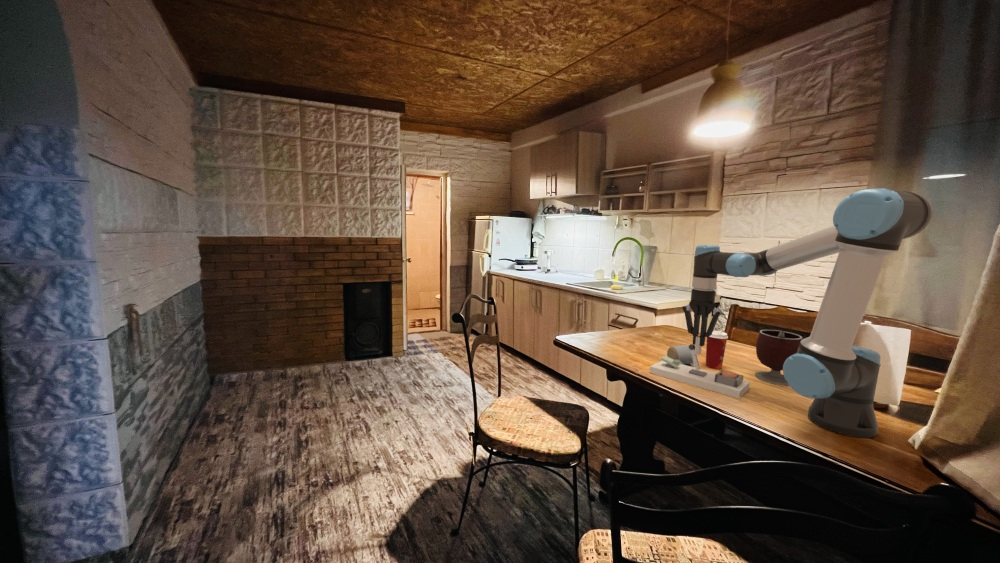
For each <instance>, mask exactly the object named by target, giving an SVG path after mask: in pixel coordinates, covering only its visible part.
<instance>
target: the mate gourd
mask: <svg viewBox="0 0 1000 563" xmlns="http://www.w3.org/2000/svg"><path fill="white" fill-rule="evenodd" d="M802 339H803V336H801V335H800V334H797V333H793V332H789V331H783V330H777V329H760V330H759V333H758V336H757V338H756V344H755V351H756V357H757V359H758V361H759V362H760V363H761V364H762V365H763V366H765V367H767V368H769V369H770V371H756V372H755V373H754V374H755V375H754V376H755V377H756V379H758V380H760V381H762V382H765V383H769V384H771V385H772V384H773V385H777V386H786V387H788V386H789V385H788V382H787V380H785V378H784V375H783V373H781V371H782V372H783V365H784V362H785V360H786V359H787V358H788V357H790V356H791V355H794V354H797V351H798V348H799V345H800V342H801V340H802ZM789 387H790V386H789Z"/></svg>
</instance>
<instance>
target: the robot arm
mask: <svg viewBox="0 0 1000 563" xmlns="http://www.w3.org/2000/svg"><path fill="white" fill-rule="evenodd" d="M932 217H933V208H932V206H931V204H930V202H929V201H928V200H927V199H926V198H925V197H924V196H922V195H920V194H918V193H916V192H912V191H911V192H910V191H906V190H904V191H903V190H902V191H901V190H895V189H888V188H884V187H882V188H866V189H860V190H858V191H854V192H852V193H851V194H849V195H847V196H846V197H845V198H844V199H842V200H841V201H840V202H839V203H838V205H837V206H836V208H835V210H834V212H833V215H832V223H833V226H829V227H827V228H824V229H821V230H818V231H816V232H813V233H809V234H807V235H804V236H802V237H798V238H796V239H793V240H790V241H787V242H784V243H782V244H778V245H776V246H773V247H770V248H767V249H765V250H762V251H759V252H727V251H725V252H724V251H721V249H720V248H721V247H720V246H719V245H713V244H712V245H711V244H698V245H697V246H696V247H695V252H694V256H693V259H694V260H693V271H692V272H693V273H692V284H691V288H692V289H691V291H690V292H691V294H690V301H689V302H688V304H687V305H683V306H682V307H681V308H682V311H683V312H684V316H685V323H686V328H687V333H688V334H691V335H692V344H693V345H695V355H697V356H699V355H701V354H702V347H704V346H705V344H706V343H705V342H706V338H707V337H709V336H711V335H712V332H713V331H715V330H714V329H715V327H716V325H717V322H718V319H719V317H720V316H722V314H723V311H722V310H720V309H718V308H717V306H716V302H715V300H716V289H717V282H718V281H717V279H718V275H724V276H728V277H729V276H731V277H734V278H748V277H750V276H760V277H761V276H764V277H765V276H770V275H773V274H774V275H775V273H777V272H778V271H780V270H783V269H786V268H790V267H794V266H798V265H801V264H804V263H807V262H812V261H815V260H819V259H821V258H824V257H825V258H826V257H828V256H832V255H835V254H838V255H837V258H836V261H835V263H834V266H833V269H832V272H831V273H830V274H831V276H830V277H829V280H828V283H827V286H826V289H825V292H824V295H823V298H822V300H821V304H820V306H819V309H818V312H817V316H816V318H815V321H814V324H813V326H812V330H811V332H810V335H809V336H808V337H805V338H802V340H801V342H800V345H799V348H798V351H797V354H794V355H791V356H790V357H788V358H787V359H786V360H785V362H784V365H783V370H782V375H784V378H785V380H787V382H788V385H789V387H790V388H791V390H793V391H794V392H795V393H797V394H799V395H800V396H802V397H805V398H807V399H813V401H812V402H811V404H810V406H809V407H808V410H807V411H808V412H807V418H808V420H810V421H811V422H812V423H814V424H816V425H817V426H819V427H821V428H824V429H826V430H828V431H831V432H834V433H837V434H840V435H841V434H842V435H845V436H849V437H856V438H866V439H867V438H874V437H876V436H877V435H878V431H879V424H878V423H879V422H878V420H877V415H876V412H875V408H874V400H875V395H876V389H877V385H878V384H877V383H878V378H879V373H880V369H881V368H880V367H881V355H880V353H879V352H877V351H875V350H873V349H870V348H866V347H863V346H858V345H854V342H855V339H856V337H857V334H858V331H859V328H860V326H861V323H862V320H863V318H864V316H865V313H866V310H867V308H868V305H869V303H870V300H871V297H872V295H873V292H874V290H875V287H876V284H877V282H878V279H879V277H880V274H881V272H882V268H883V266H884V264H885V261H886V259H887V258H888V257H889V256H891V255H893V254H895V253H897V252H898V251H899V249H900V246H901V244H902V242H903V240H905V239H909V238H912V237H915V236H916V235H918V234H920V233H921V232H923V231H924V230H925V229H926V228H927V226H929V224H930V222H931V220H932ZM691 311H692V312H693V318H692V312H691ZM711 313H712V314H713V316H712V317H711V320H710V323H709V325H708V318H709V316H710V315H711Z"/></svg>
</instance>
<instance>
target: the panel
mask: <svg viewBox="0 0 1000 563" xmlns="http://www.w3.org/2000/svg"><path fill="white" fill-rule="evenodd" d="M690 366H691V365H687V364H684V365H682V364H680V365H679V366H678V367H674V366H672V365H670V364H668V363H666V362H664V361H662V360H660V361H658V362H655V363H654V364H652V365H649V374H652V373H653V375H655V374H656V375H655V376H659V377H662V378H665V379H670V380H673V381H676V382H680V383H684V384H687V385H691V386H693V387H697V388H701V389H705V390H708V391H710V392H714V393H718V394H722V395H725V396H728V397H732V398H734V399H735V398H736V399H738V400H739V399H741V398H742V396H744V395H745V394H746V393H747V392H748V391H749V390H750V385H751V383H750V381H747V380H744V375H743V374H739V373H736V374H737V378H736V379H733V378H729V377H725V376H722V371H724V370H722V369H720V371H717V372H713V371H708V370H705V369H701V368H700V370H696V369H695V366H694V367H690Z"/></svg>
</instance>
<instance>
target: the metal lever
mask: <svg viewBox="0 0 1000 563" xmlns="http://www.w3.org/2000/svg"><path fill="white" fill-rule="evenodd" d="M688 345H689V349H690V351H691V354H692V358H693V362H694V368H695V369H696V370H700V369H701V366H700V362H699V359H698V355H695V345H694V344H693V343H691V344H688Z"/></svg>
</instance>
